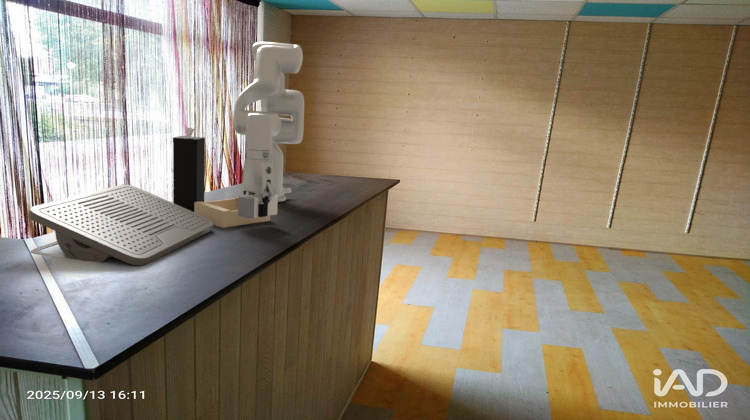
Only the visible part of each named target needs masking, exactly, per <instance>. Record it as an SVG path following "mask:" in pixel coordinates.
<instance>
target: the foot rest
mask: <svg viewBox="0 0 750 420" xmlns="http://www.w3.org/2000/svg"><path fill="white" fill-rule="evenodd" d="M27 216H28V219H29V220H31V221H32V222H34V223H37V224H39V225H42V226H43V227H45V228H48V229H51V230H52V231H54V234H55V239H56V241H54V242H50V243H47V244H45V245H42V246H38V247H36V248H33V249H32V250H30V253H31V254H34V255H42V256H49V257H56V258H57V257H58V258H64V259H66V258H67V259H71V260H79V261H82V262H94V263H103V262H104V261H108V260H109V259H111V258H112V257H113V258H115V259H117V260H120V261H121V262H124V263H127V264H130V265H133V266H145V265H148V264H150V263H151V262H154V261H156V260H158V259H159V258H162V257H163V256H165V255H167V254H170V253H171V252H173V251H175V250H177V249H179V248H180V247H182V246H185V245H187V244H189V243H190V242H193V241H194V240H196V239H199V238H200V237H202V236H204V235H205V234H208V233H210V232H211V231H213V229H214V226H215V225H214V222H213V221H212V220H210V219H208V218H206V217H204V216H201V215H199V214H197V213H195V212H192V211H190V210H188V209H185V208H183V207H181V206H178V205H176V204H174V203H173V202H172V201H169V200H167V199H165V198H163V197H159V196H158V195H155V194H153V193H150V192H149V191H146V190H144V189H142V188H139V187H137V186H133V185H131V184H119V185H118V184H117V185H115V186H114V185H113V186H110V187H106V188H103V189H98V190H93V191H90V192H87V193H81V194H77V195H73V196H71V197H66V198H62V199H59V200H58V199H57V200H53V201H50V202H45V203H41V204H37V205H33V206H31V207H30V208H29V211H28V214H27ZM56 245H58V247H59V249H60V251H62V253H63V254H60V253H59V254H57V253H50V252H40V251H41V250H44V249H48V248H50V247H54V246H56Z"/></svg>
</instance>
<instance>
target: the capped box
mask: <svg viewBox="0 0 750 420" xmlns="http://www.w3.org/2000/svg"><path fill="white" fill-rule="evenodd" d="M237 197H238V216H241V217H244V218H247V219H251V218H257V217H258V204H260V200H259V194H252V193H251V195H244V194H243V195H237ZM264 197H265V195H264V196H263V199H264ZM278 203H279V202H278V195H275V196H274V197H273V198H272V199H271V200H270V202H269V204H268V215H267V216H270V217H271V216H275V215H276V216H277V215H278Z"/></svg>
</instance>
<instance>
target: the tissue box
mask: <svg viewBox="0 0 750 420" xmlns="http://www.w3.org/2000/svg"><path fill="white" fill-rule="evenodd" d="M184 129H185V133H186V135H178V136H174V137H172V151H173V152H172V153H173V154H172V156H173V157H172V159H173V160H172V162H173V163H172V164H173V165H172V167H173V168H172V173H173V174H172V175H173V176H172V177H173V179H172V181H173V182H172V183H173V184H172V185H173V186H172V187H173V189H172V190H173V199H172V200H173V202H172V203H174V204H176V205H178V206H181V207H183V208H185V209H188V210H190V211H192V212H194V202H200V201H202V202H205V165H206V164H205V162H206V160H205V159H206V158H205V155H206V154H205V153H206V152H205V151H206V149H205V147H206V146H205V145H206V137H204V136H203V137H201V136H200V137H199V136H192V135H193V134H194V131H195V128H192V127H186V126H185V127H184Z"/></svg>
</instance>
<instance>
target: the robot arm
mask: <svg viewBox="0 0 750 420" xmlns="http://www.w3.org/2000/svg"><path fill="white" fill-rule="evenodd" d="M251 54H252V58H253V60H254V68H253V77H252V83H250V84H248V86H246V87H245V88H244V89H243V90H242V91H241V92H240V93H239V94H238V96H237V98H236V101H235V105H234V110H233V119H232V120H233V121H232V126H233V129H234V132H235V133H237V134H238V135H243V136H245V156H244V157H245V158H244V163H243V168H242V169H243V170H242V184H241V185H240V189H241V190H242V192H243V195H251V194H259V200H260V204H258V217H265V216H267V215H268V204H269V202H270V200H271V199H272V198H273V197H274V196H275V195H278V203H281V202H286V200H287V196H286V194H291V193H292V188H290V187H289V188H285V187H283V183H284V181H283V180H284V178H283V176H284V153H283V150H282V149H281V148H280V147H279V145H278V144H286V145H298V144H300V143H302V142H303V138H304V130H305V127H304V126H305V97H304V94H303V92H301V90H300V91H299V90H297V89H286V88H285V79H286V78H285V74H286V73H287V74H298V73H299V71H300V70H301V68H302V64H303V60H304V54H303V49H302V47H301V46H300V45H299V44H293V43H284V42H273V41H257V42H254V43H253V44H252V47H251ZM257 101H260V107H261V108H260V109H261V110H262V111H260V110H249V109H247V108H248V106H249V105H251V104H253V103H255V102H257ZM246 109H247V110H246ZM280 116H289V117H290V118H286V117H285V118H284V117H280ZM264 195H265V197H264V199H263V196H264Z"/></svg>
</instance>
